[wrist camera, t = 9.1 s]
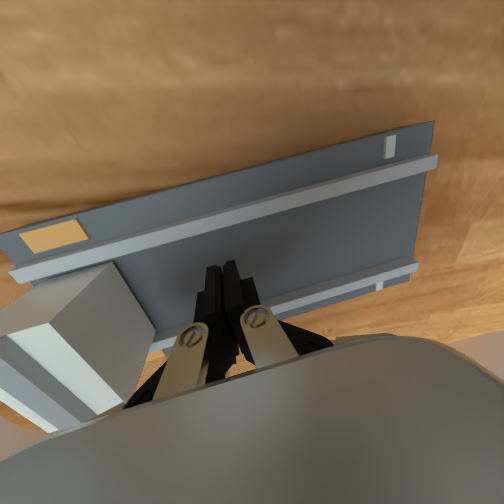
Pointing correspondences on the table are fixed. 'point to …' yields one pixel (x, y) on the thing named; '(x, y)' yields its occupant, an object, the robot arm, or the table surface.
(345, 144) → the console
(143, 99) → the table surface
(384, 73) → the table surface
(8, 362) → the fader
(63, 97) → the table surface
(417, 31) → the table surface
